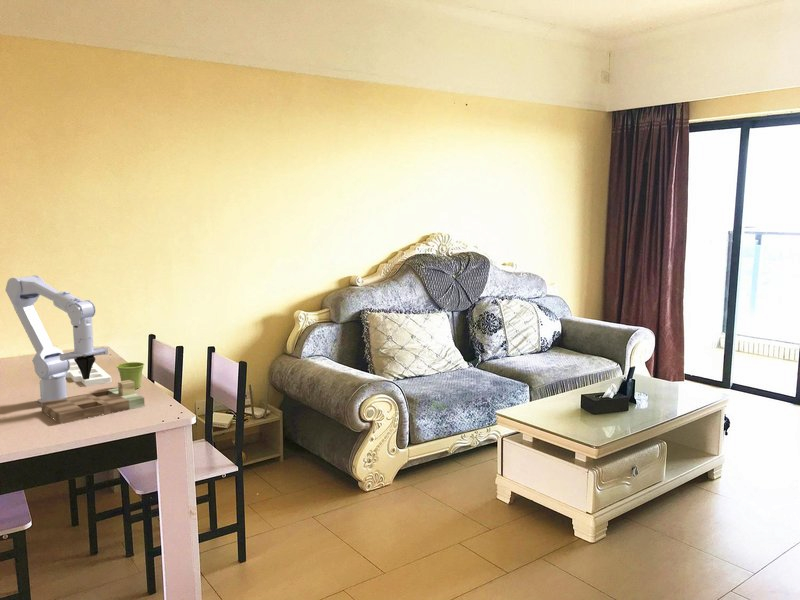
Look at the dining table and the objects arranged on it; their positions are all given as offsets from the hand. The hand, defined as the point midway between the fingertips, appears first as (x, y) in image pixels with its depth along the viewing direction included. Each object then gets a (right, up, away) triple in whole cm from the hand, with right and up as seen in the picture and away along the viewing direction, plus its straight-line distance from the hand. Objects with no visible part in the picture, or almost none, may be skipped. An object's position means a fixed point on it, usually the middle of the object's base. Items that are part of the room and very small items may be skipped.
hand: (86, 378), depth 215 cm
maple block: (+11, -6, +6) cm, 14 cm away
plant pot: (+5, -7, +24) cm, 26 cm away
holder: (-26, -4, +45) cm, 52 cm away
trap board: (+3, -10, -1) cm, 10 cm away
